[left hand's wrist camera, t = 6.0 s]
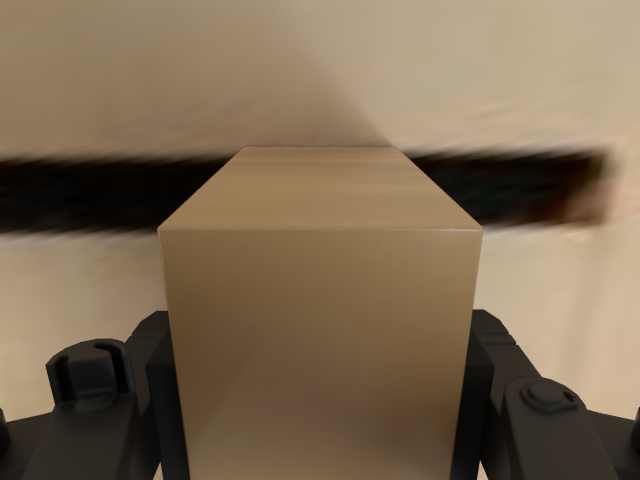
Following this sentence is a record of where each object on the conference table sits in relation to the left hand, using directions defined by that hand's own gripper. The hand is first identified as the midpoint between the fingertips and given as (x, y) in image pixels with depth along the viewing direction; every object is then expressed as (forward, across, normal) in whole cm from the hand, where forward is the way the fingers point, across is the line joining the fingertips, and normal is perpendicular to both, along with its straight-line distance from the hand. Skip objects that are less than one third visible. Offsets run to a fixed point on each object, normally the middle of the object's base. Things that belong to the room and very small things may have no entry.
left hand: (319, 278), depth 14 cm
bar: (+1, 0, -23) cm, 23 cm away
